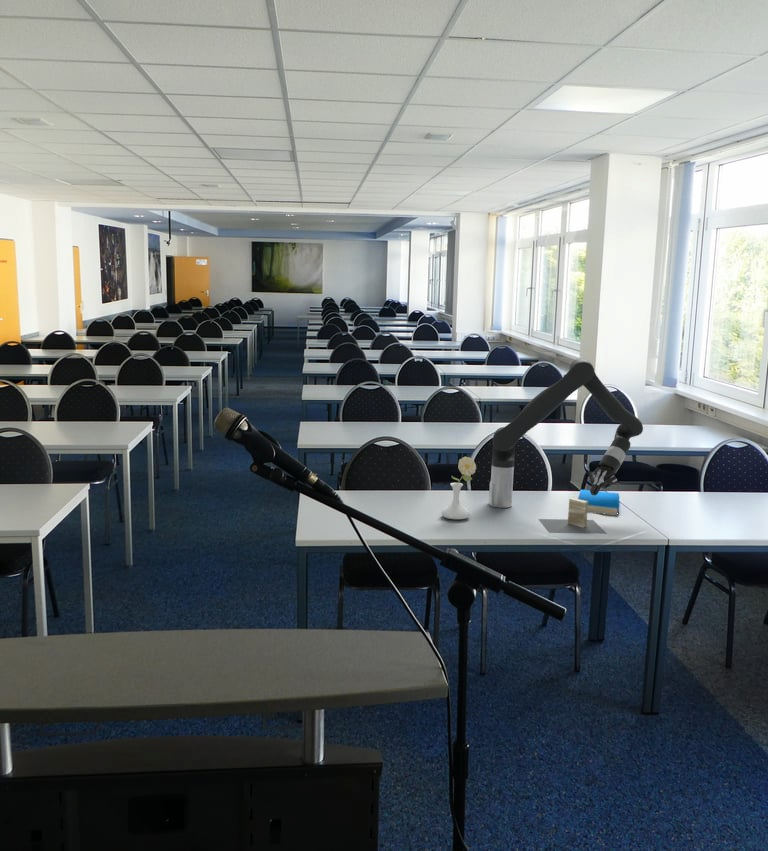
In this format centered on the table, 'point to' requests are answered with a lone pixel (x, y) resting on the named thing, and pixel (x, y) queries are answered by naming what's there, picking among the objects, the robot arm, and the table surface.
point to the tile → (578, 512)
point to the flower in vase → (455, 507)
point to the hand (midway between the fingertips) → (592, 494)
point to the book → (601, 502)
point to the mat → (570, 526)
